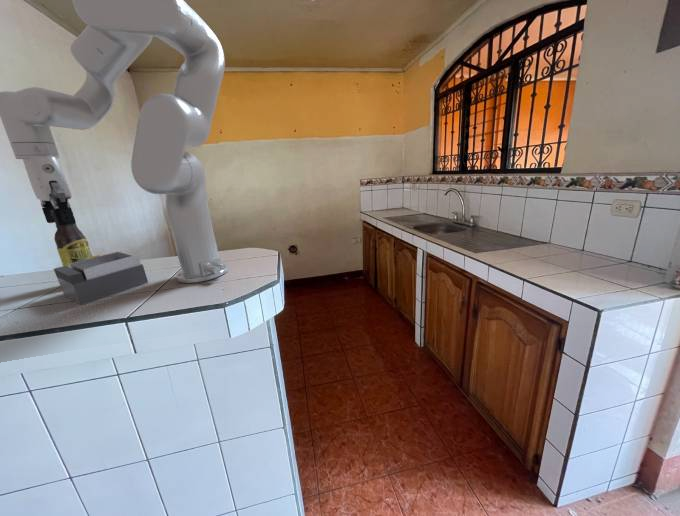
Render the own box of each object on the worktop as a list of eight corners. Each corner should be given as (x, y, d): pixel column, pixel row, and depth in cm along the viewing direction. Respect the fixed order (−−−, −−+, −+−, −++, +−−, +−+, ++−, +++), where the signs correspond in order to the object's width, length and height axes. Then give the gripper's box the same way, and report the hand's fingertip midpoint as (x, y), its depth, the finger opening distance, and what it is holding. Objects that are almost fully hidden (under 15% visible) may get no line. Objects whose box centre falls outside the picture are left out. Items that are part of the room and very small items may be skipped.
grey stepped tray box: (148, 282, 75) (139, 253, 73) (80, 305, 64) (67, 272, 62) (128, 275, 82) (119, 249, 79) (64, 295, 71) (52, 265, 68)
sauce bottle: (82, 287, 75) (53, 211, 69) (64, 287, 76) (34, 212, 70) (106, 278, 81) (82, 207, 75) (89, 278, 83) (63, 208, 76)
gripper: (68, 149, 67) (92, 223, 72) (47, 154, 76) (69, 218, 81) (22, 149, 61) (51, 229, 66) (5, 154, 70) (32, 223, 76)
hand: (61, 223), depth 74 cm, fingers open, 9 cm apart
